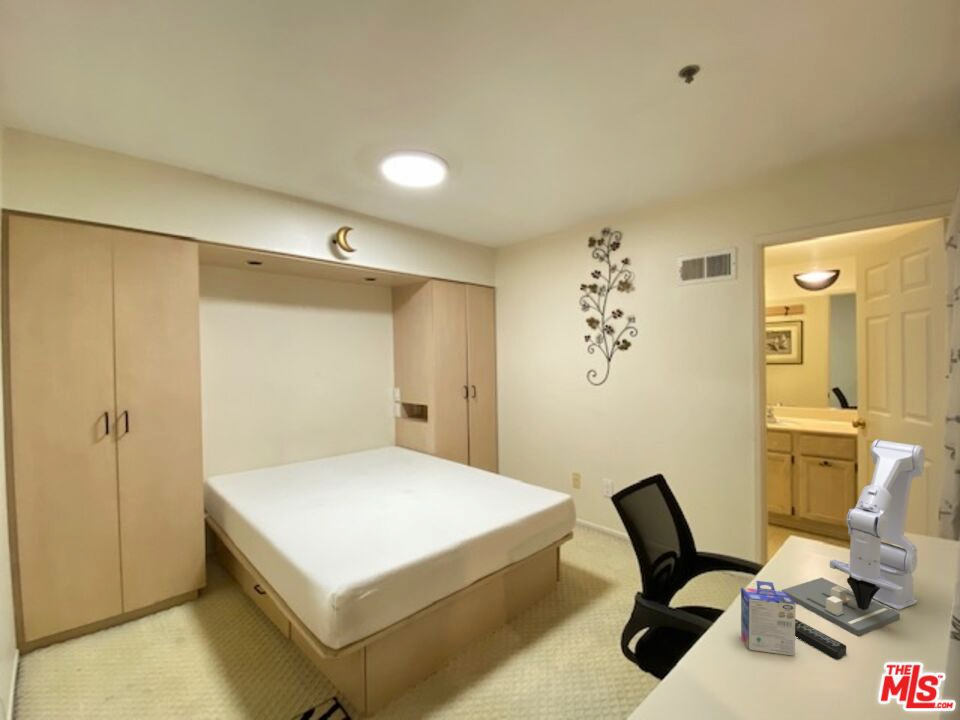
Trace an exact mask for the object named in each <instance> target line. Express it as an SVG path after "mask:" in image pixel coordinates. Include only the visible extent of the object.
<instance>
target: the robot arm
mask: <svg viewBox="0 0 960 720" xmlns="http://www.w3.org/2000/svg"><path fill="white" fill-rule="evenodd" d="M870 456H871V458H872V462H873V464H874V465H875V466H874V471H873V474H872V478H871V482H870V484H869V485H865V486H864V487H863V488H862V491H861V493H860V495H859V498H858V500H857V503H856V505H855V507H854V508H850V509H848V513H847V515H846V526H847V528H848V531H847V534H848V535H849V536H850V544H849V545H850V546H849V563H846V562H843V561H840V560H837V559H831V560H829V568H830V569H832V570H837V571H841V572H843V573H845V574H847V575H849V577H847V578H846V583H848V585H849V587H850V589H851V591H852V592H853V593H854V596H855V599H856V602H857V606H858V608H860V609H862V610H866V609H868V608H869V605H870V602H871V600H872V601H873V600H874V601H878V602H880V603H882V604H883V605H885V606H888V607H891V608H892V609H893V608H894V609H895V610H897V611H898V610H899V611H900V610H903V609H905V608H907V607H910V606H912V605H915V604H918V600H917V599H914V577H913V574H914V572H915V571H916V568H917V567H918V566H917V565H918V556H917V555H918V554H917V553H918V548H917V546H916V545H915V544H914V543H913V542H912V541H910V539H909V538H907V537H906V536H905V530H906V522H907V515H908V508H909V499H910V494H911V488H912V487H911V486H912V482H913V480H914V478H917V477H922V475H923V473H924V466H925V459H926V455H925V449H924V448H923V447H922V446H921V445H920V444H919V445H918V444H916V445H915V444H909V443H900V442H895V441H888V440H887V441H886V440H881V439H879V438H878V439H875V440H874V441H873V442H872V443H871V445H870Z"/></svg>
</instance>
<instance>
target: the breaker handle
mask: <svg viewBox="0 0 960 720" xmlns="http://www.w3.org/2000/svg"><path fill="white" fill-rule="evenodd" d="M824 610H826V611H828V612H830V613H832V614H834V615H836V616H839V615H842V614H844V612H842V600H841V599H839V598H837V597H835V596H832V597H829V598H826V608H824Z"/></svg>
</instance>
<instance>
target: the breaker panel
mask: <svg viewBox="0 0 960 720" xmlns="http://www.w3.org/2000/svg"><path fill="white" fill-rule="evenodd" d="M836 586H839V587H841V588H844V589H846V601H848V603H845V604H842V612H844V614H842V615H839V616H836V615H834V614H832V613H830V612H828V611H826V610H824V608H826V598H829V597H831V588H833V587H836ZM781 591H783V592H785V593H786V594H787V595H788V596H789V597H790V598H791V599H792V600H793V601H794V602H795V604H796V605H799V606H801V607H803V608H805V609H806V610H807V611H810V612H812V613H814V614H816V615H818V616H819V617H821V618H823V619H825V620H827V621H828V622H831V623H833V624H834V625H836V626H837V627H840V628H842V629H844V630H846V631H847V632H849V633H851V634H853V635H855V636H856V637H860V636H863V635H865V634H867V633H870V632H873V631H875V630H877V629H880V628H882V627H884V626H886V625H887V626H888V625H889V624H891V623H894V622H896V621H899V620H900V619H901V613H900V612H898V611H895V610H893V609H891V608H889V607H887V606H886V605H884V604H883V605H882V604H880V603H879V602H876V601H875V600H874V601H873V600H872V601H873V602H874V603H871V604H870V605H869V608H868V609H866V610H862V609H860V608H858V606H857V602H856V599H854V598H855V596H854V593H853V591H852V590H850V589H849V588H846V587H843V586H841V585H839V584H838V583H835V582H833V581H830V580H828V579H826V578H824V577H818V578H816V579H812V580H809V581H806V582H803V583H800V584H797V585H794V586H790V587H787V588H784V589H781ZM862 634H863V635H862Z"/></svg>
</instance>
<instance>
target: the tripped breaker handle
mask: <svg viewBox="0 0 960 720" xmlns="http://www.w3.org/2000/svg"><path fill="white" fill-rule="evenodd" d="M839 586H840V585H839ZM839 586H836V587H833V588H831V597H832V596H835V597H837V598H839V599H841V600H842V604H845V603H848V601H846V589H847V588H846V589H844V588H845V587H844V588H841V587H842V586H841V587H839Z"/></svg>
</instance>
